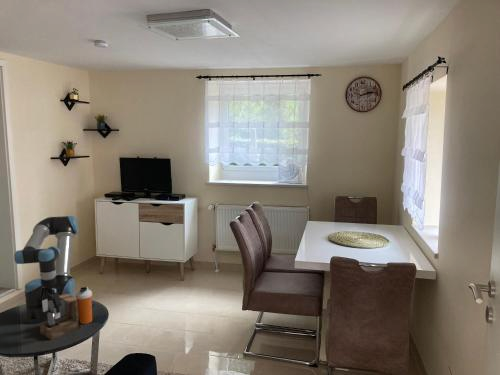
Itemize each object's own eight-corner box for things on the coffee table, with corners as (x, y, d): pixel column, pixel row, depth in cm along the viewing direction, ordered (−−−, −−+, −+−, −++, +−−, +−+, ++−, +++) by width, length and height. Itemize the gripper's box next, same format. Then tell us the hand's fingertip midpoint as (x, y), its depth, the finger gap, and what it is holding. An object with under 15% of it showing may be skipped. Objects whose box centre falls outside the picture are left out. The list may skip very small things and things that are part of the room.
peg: (47, 333, 226) (46, 313, 225) (54, 331, 229) (52, 310, 227) (51, 335, 224) (49, 315, 222) (57, 333, 227) (56, 312, 225)
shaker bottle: (77, 326, 235) (75, 292, 232) (77, 319, 243) (75, 287, 240) (94, 323, 238) (92, 290, 236) (93, 316, 247) (91, 285, 244)
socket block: (40, 333, 227) (37, 302, 225) (68, 322, 240) (66, 293, 237) (51, 339, 220) (48, 308, 217) (79, 328, 232) (76, 298, 230)
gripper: (30, 274, 227) (34, 310, 230) (52, 285, 212) (56, 323, 215) (44, 270, 233) (47, 305, 236) (66, 281, 217) (69, 318, 221)
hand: (51, 314), depth 225 cm, fingers open, 13 cm apart
